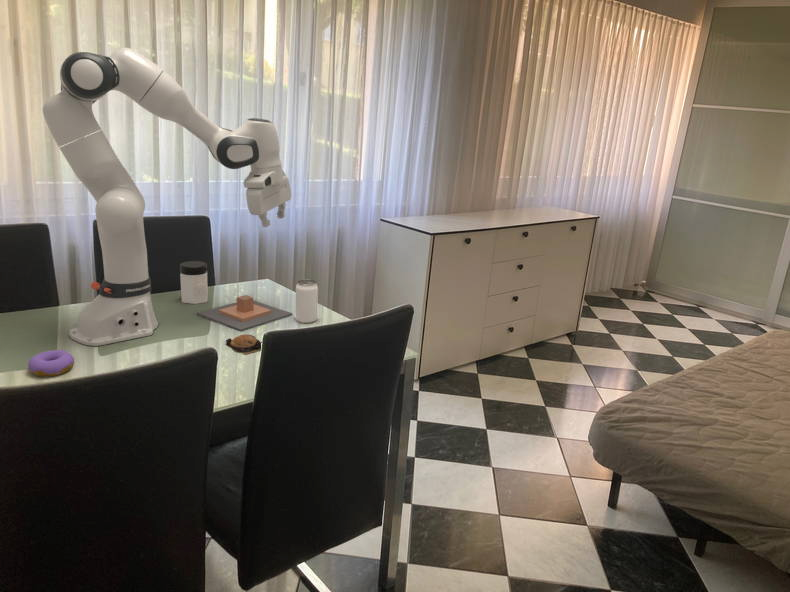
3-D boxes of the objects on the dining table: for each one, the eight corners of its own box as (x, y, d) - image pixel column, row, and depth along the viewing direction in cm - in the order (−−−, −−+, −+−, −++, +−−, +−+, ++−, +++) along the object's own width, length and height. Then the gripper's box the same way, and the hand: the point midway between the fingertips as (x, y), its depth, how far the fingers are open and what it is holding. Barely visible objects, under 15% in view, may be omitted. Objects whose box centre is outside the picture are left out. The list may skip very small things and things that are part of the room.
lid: (242, 321, 179) (242, 305, 177) (218, 312, 185) (218, 297, 183) (271, 313, 187) (271, 297, 186) (247, 304, 193) (247, 289, 192)
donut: (26, 364, 145) (29, 344, 144) (70, 365, 150) (73, 346, 149) (27, 380, 137) (30, 360, 136) (73, 381, 142) (76, 362, 141)
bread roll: (270, 350, 163) (270, 337, 162) (243, 358, 157) (242, 344, 156) (248, 338, 170) (248, 326, 169) (221, 345, 164) (220, 332, 163)
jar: (187, 306, 191) (186, 268, 188) (176, 299, 197) (174, 263, 193) (214, 300, 197) (212, 264, 194) (202, 294, 203) (200, 259, 199)
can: (306, 325, 181) (306, 286, 177) (291, 319, 184) (291, 281, 181) (321, 320, 186) (322, 282, 182) (306, 314, 189) (306, 277, 186)
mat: (240, 331, 173) (240, 329, 173) (197, 314, 184) (197, 312, 184) (292, 315, 188) (292, 313, 188) (249, 300, 200) (249, 298, 199)
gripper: (274, 168, 188) (280, 212, 193) (239, 183, 170) (247, 231, 175) (293, 168, 186) (298, 213, 191) (260, 183, 168) (267, 231, 173)
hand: (274, 222), depth 183 cm, fingers open, 8 cm apart
